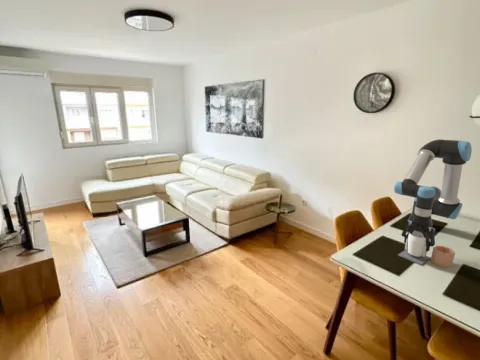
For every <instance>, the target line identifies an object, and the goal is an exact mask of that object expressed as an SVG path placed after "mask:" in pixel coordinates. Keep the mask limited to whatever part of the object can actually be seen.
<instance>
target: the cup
mask: <svg viewBox="0 0 480 360" xmlns="http://www.w3.org/2000/svg"><path fill="white" fill-rule="evenodd" d="M425 245H426V238H424V236H423V234H422V232H420V231H418V230H415V231H414V232H413V233H412V234H410V233H409V235H408V253H409V254H411V255H413V256H418V257H419V256H422V254H423V251H424V246H425Z"/></svg>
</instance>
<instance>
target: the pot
mask: <svg viewBox="0 0 480 360" xmlns="http://www.w3.org/2000/svg"><path fill="white" fill-rule="evenodd" d="M430 257H431V259H430V260H431V262H432V264H434V265H436V266H439V267H442V268H451V267H452V265H453V264H454V259H455V257H456V251H454V249H452V248H450V247H448V246H445V245H436V244H435V245H434V246H433V248H432V252H431V256H430Z"/></svg>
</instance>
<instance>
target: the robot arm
mask: <svg viewBox="0 0 480 360" xmlns="http://www.w3.org/2000/svg"><path fill="white" fill-rule="evenodd" d="M472 152H473V151H472V144H471V143H470V141H465V140H464V141H463V140H454V139H434V140H431V141H429V142H427V143H425V144H424V145H422V147H421V148H419V150H418V151H417V154H416V155H417V157H416V158H415V159H414V161H413V163H412V164H411V167H410V168H409V170H408V171H407V173H406V175H405V177H404V178H403V180H402V181H397V182H395V185H394V188H393V190H394V191H393V192H394V193H395V194H398V195H401V196H406V197H409V198H414V200H413V206H412V210H411V211H412V212H411V214H410V215H409V217H408V219H407V220H406V221H405V226H404V229H403V231H402V233H401V237H403V238H404V241H403V243H404V244H405V245H404V251H405V250H406V249H408V235H409V233H410V234H412V233H413V232H414V231H419V232H422V234H423V236H424V238H426V245H425V246H424V251H423V257H424V256H427V254H428V253H427V252H429V251H430V248H431V247H434V246H436V239H435V238H436V237H435V231H436V228H435V227H433V225H434V223H433V219H432V215H435V216H438V217H442V218H445V219H446V218H447V219H450V220H456V219H457V218H458V216H459V214H460V212H461V210H462V207H463V203H461V202H460V201H461V200H460V198H459V197H458V195H459V189H460V183H461V178H462V177H461V175H462V171H463V166H464V165H465V164H467V162H468V161H470V159H471V156H472ZM435 159H442V163H443V164H444V168H443V169H444V170H443V176H442V184H441V189H440V188H439V187H438V186H434V185H433V186H428V185H427V186H425V185H418V184H419V182H420V180H422V176H423V175H424V173H426V170H427V168H428V167H429V165H430V163H431V162H432V161H434V160H435ZM409 227H412V228H411V229H410V230H409ZM408 230H409V231H408ZM428 231H429V235H428Z"/></svg>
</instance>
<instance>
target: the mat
mask: <svg viewBox="0 0 480 360" xmlns="http://www.w3.org/2000/svg"><path fill="white" fill-rule="evenodd" d="M397 256H398V257H401V258H402V259H404V260H408V261H410V262H412V263H415V264H417V265H420V266H423V265H424V264H425V263H427V262H428V261H429V260H431V256H429V255H426V256H424V257H423V254H422V256H419V257H418V256H413V255H411V254H409V253H408V249H406V250H405V249H404V250H402V251H401V252H400V253H398V254H397Z"/></svg>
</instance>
